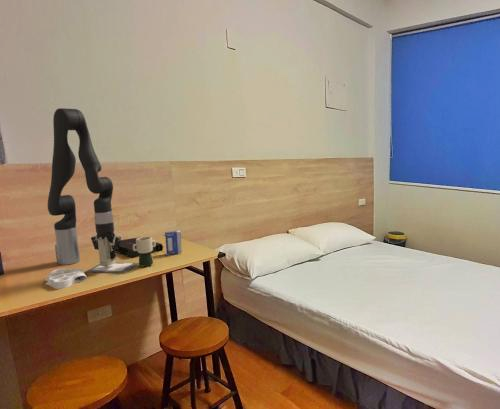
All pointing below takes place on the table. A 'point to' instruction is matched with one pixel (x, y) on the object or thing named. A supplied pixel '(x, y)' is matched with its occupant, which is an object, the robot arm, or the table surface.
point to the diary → (127, 247)
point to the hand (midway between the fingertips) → (108, 258)
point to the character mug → (144, 250)
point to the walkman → (173, 242)
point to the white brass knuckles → (65, 277)
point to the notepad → (113, 268)
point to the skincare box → (105, 253)
